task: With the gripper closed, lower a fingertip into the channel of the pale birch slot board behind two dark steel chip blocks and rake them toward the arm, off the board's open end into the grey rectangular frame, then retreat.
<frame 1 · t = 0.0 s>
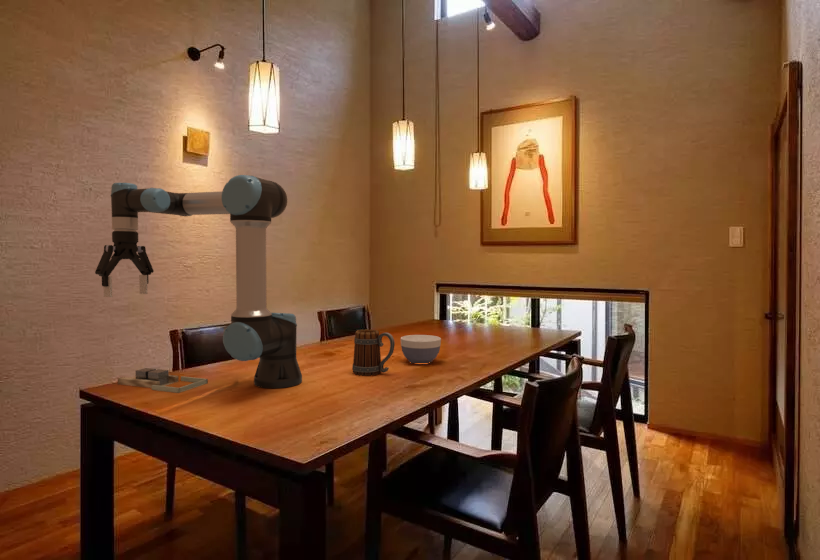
hand: (126, 295, 165), 28 cm above the table, fingers open, 13 cm apart
chip b: (146, 382, 156), point 1 cm above the table, touching slot board
mug: (373, 373, 177), on the table
slot board: (148, 387, 156), on the table
chip a: (158, 383, 155), point 1 cm above the table, touching slot board
bowl: (420, 362, 197), on the table
grey rectangular frame: (180, 391, 152), on the table
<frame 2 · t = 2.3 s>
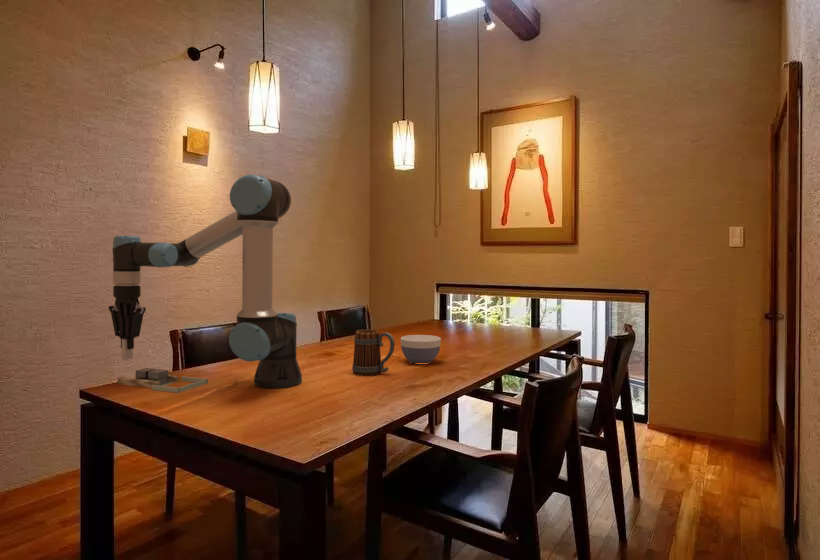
hand: (127, 358, 158), 8 cm above the table, fingers closed
nothing on the table moved.
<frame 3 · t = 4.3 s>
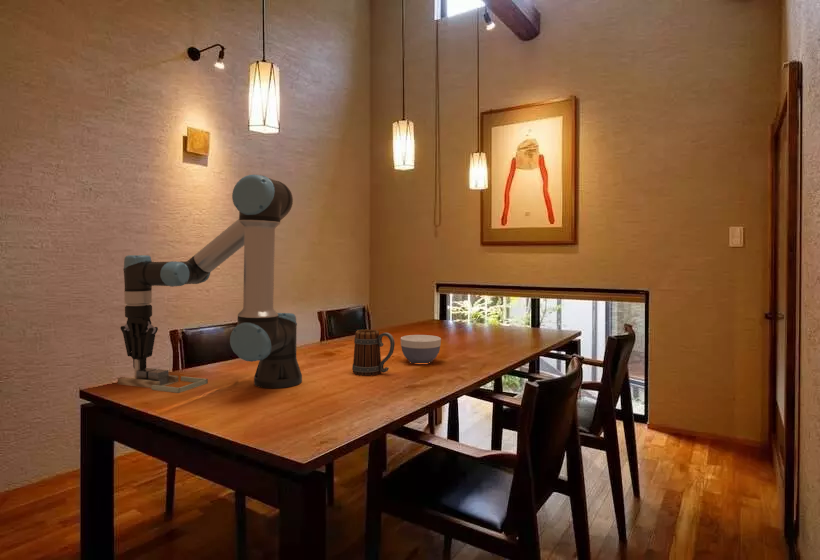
hand: (140, 379, 157), 2 cm above the table, fingers closed
chip b: (146, 382, 156), point 2 cm above the table, touching gripper
everything else where it was.
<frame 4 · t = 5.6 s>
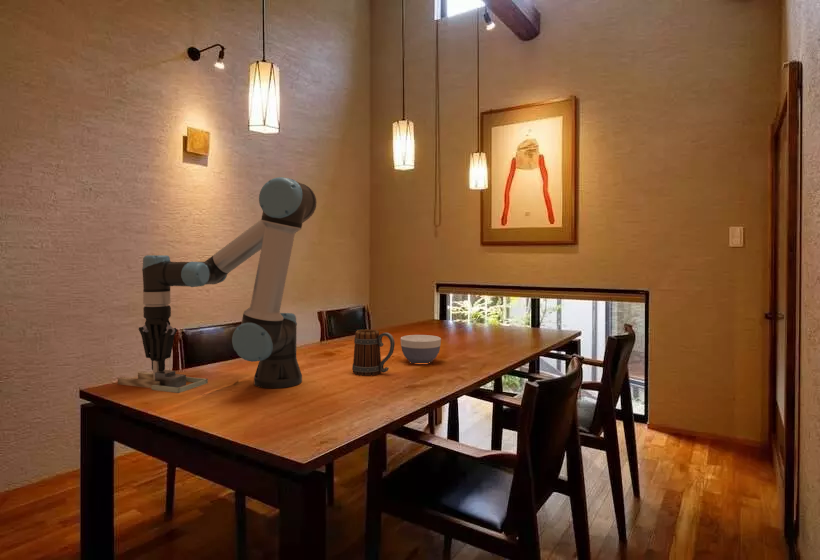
hand: (158, 380, 155), 2 cm above the table, fingers closed
chip b: (165, 384, 154), point 2 cm above the table, touching chip a, gripper
chip a: (175, 388, 152), point 1 cm above the table, touching chip b
everything else where it was.
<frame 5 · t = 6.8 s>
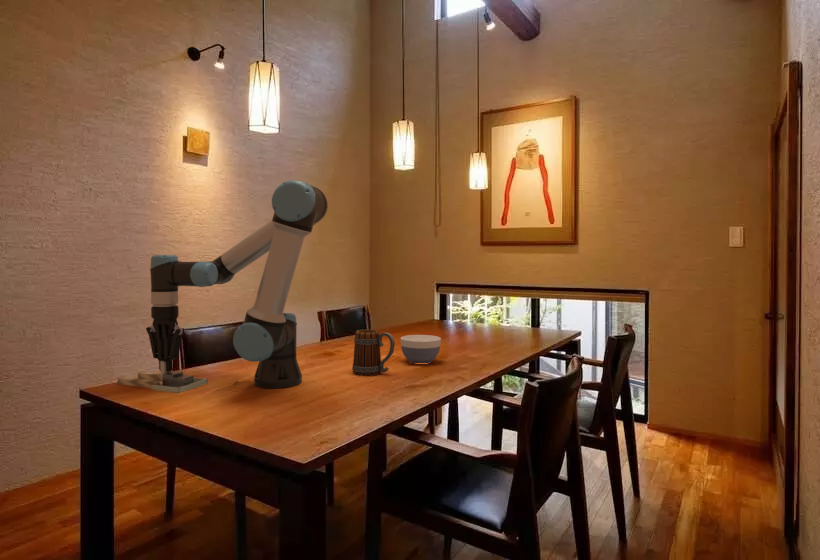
hand: (166, 381, 154), 3 cm above the table, fingers closed
chip b: (173, 385, 153), point 1 cm above the table, touching chip a, gripper
chip a: (183, 389, 151), point 1 cm above the table, touching chip b, grey rectangular frame
everything else where it was.
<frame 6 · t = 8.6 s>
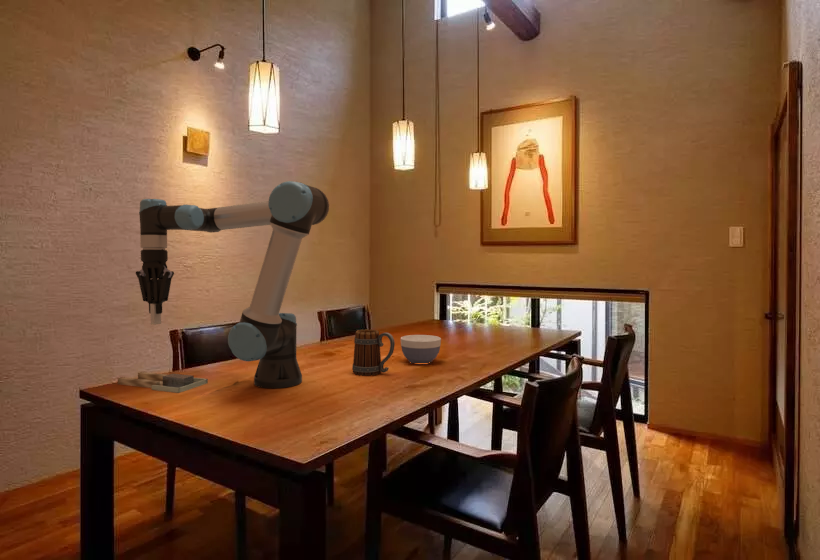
hand: (155, 324, 157), 20 cm above the table, fingers closed
chip b: (173, 388, 153), point 1 cm above the table, touching grey rectangular frame
chip a: (183, 389, 151), point 1 cm above the table, touching grey rectangular frame
everything else where it was.
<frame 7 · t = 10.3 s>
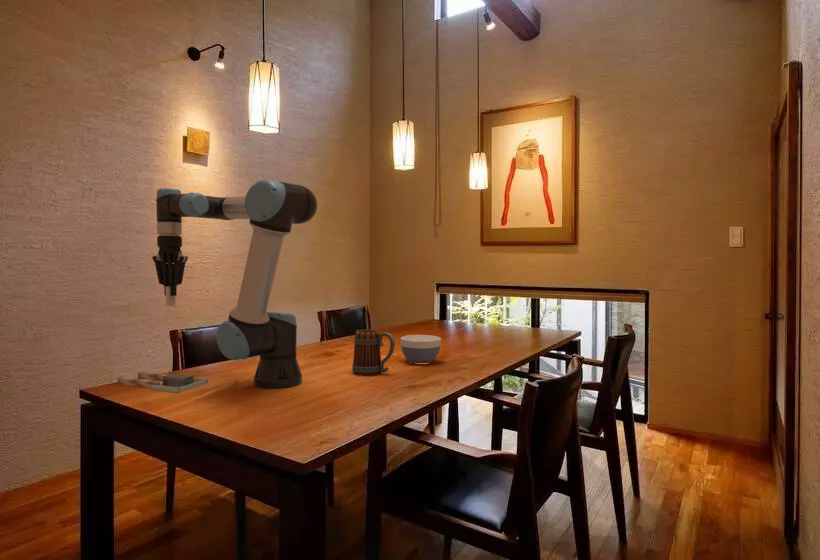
hand: (170, 305, 168), 24 cm above the table, fingers closed
nothing on the table moved.
at the end: chip a inside the target area on the grey rectangular frame (1.2 cm from its centre), point 0.6 cm above the grey rectangular frame's base; chip b inside the target area on the grey rectangular frame (2.8 cm from its centre), point 0.6 cm above the grey rectangular frame's base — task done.
